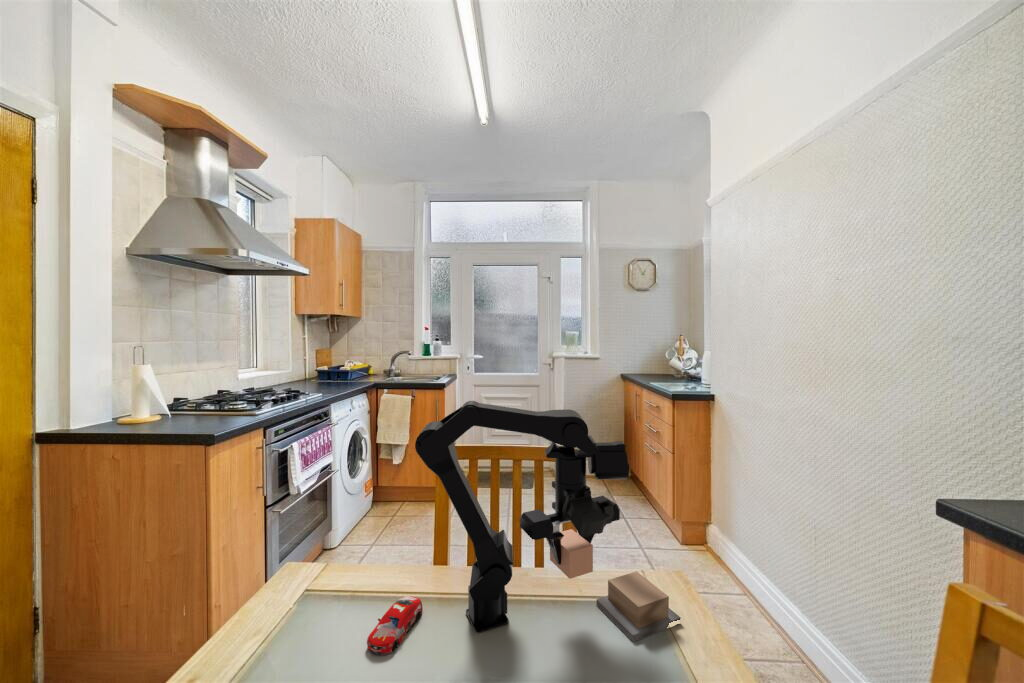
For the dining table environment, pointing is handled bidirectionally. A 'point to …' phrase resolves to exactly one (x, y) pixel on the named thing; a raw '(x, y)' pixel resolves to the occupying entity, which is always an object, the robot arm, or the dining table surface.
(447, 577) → the dining table surface
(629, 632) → the tower base
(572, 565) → the terracotta brick
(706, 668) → the dining table surface
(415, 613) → the race car
